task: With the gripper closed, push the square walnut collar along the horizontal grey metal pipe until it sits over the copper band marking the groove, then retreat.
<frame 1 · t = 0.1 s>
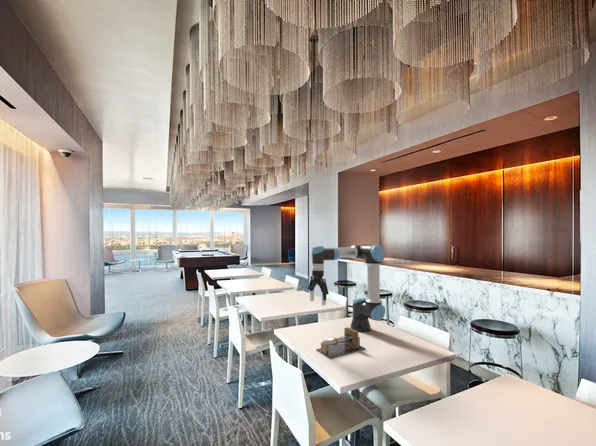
hand: (317, 302, 189), 28 cm above the table, fingers open, 13 cm apart
collar: (351, 337, 187), point 6 cm above the table, slide at 0.0 cm
pipe rig: (340, 349, 183), on the table
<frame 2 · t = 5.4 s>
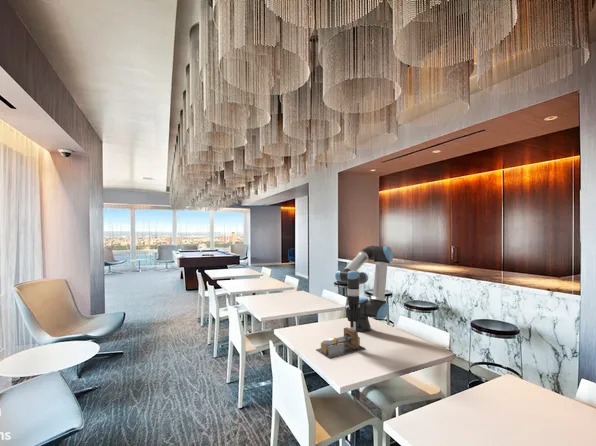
hand: (353, 331, 188), 9 cm above the table, fingers closed
collar: (350, 337, 187), point 6 cm above the table, slide at 0.6 cm, touching gripper
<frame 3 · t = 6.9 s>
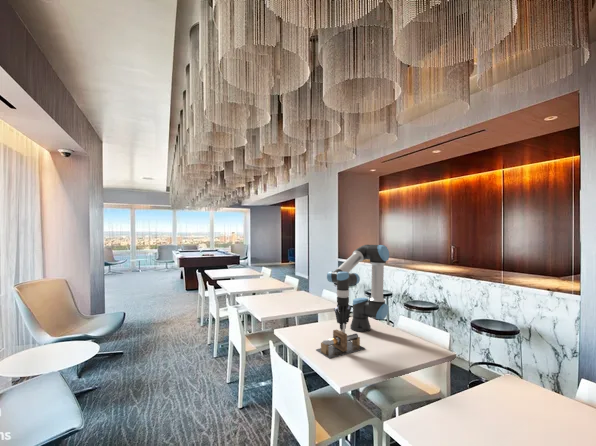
hand: (342, 334, 184), 9 cm above the table, fingers closed
collar: (339, 340, 183), point 6 cm above the table, slide at 9.3 cm, touching gripper
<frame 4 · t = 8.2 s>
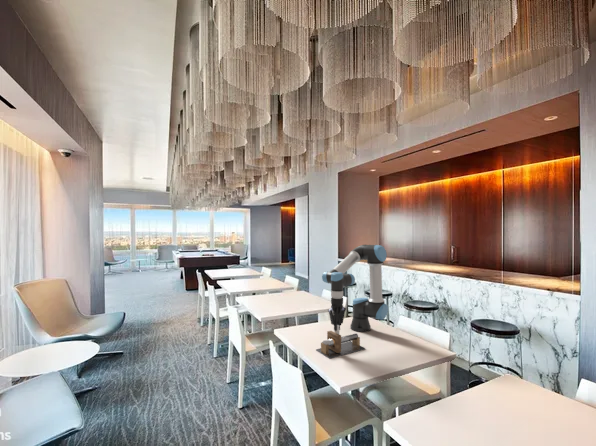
hand: (337, 335, 181), 9 cm above the table, fingers closed
collar: (334, 341, 180), point 6 cm above the table, slide at 13.8 cm, touching gripper
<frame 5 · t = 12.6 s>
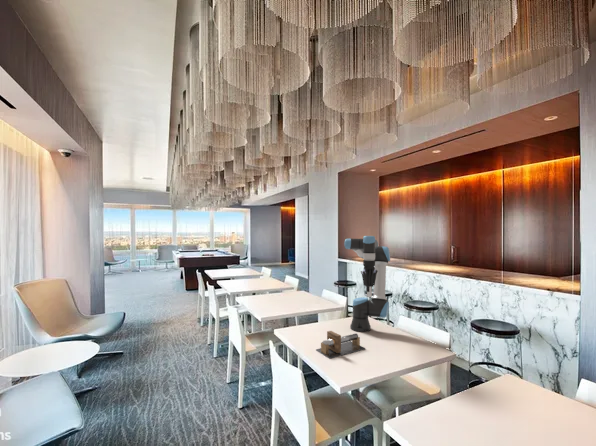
hand: (369, 296, 187), 32 cm above the table, fingers closed
collar: (333, 341, 180), point 6 cm above the table, slide at 14.0 cm
at the end: collar slide at 14.0 cm; collar touching nothing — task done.
